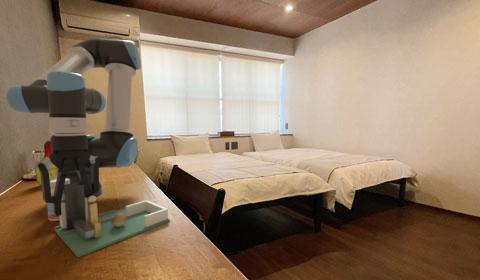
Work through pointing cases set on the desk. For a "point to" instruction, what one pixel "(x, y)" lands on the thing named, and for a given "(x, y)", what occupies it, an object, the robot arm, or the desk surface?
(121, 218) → the ball
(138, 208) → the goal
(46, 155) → the bottle
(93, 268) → the desk surface
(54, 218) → the pill bottle
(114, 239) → the board
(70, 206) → the block
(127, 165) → the robot arm
